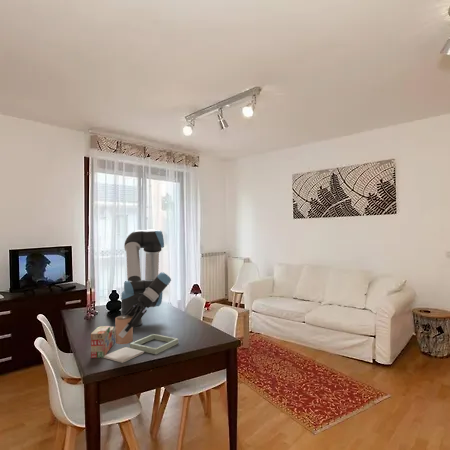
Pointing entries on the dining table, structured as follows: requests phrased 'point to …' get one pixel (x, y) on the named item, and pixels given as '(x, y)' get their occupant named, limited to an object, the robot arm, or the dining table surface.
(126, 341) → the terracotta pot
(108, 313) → the dining table surface
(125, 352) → the ceramic tile
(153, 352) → the frame
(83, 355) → the dining table surface
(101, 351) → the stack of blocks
